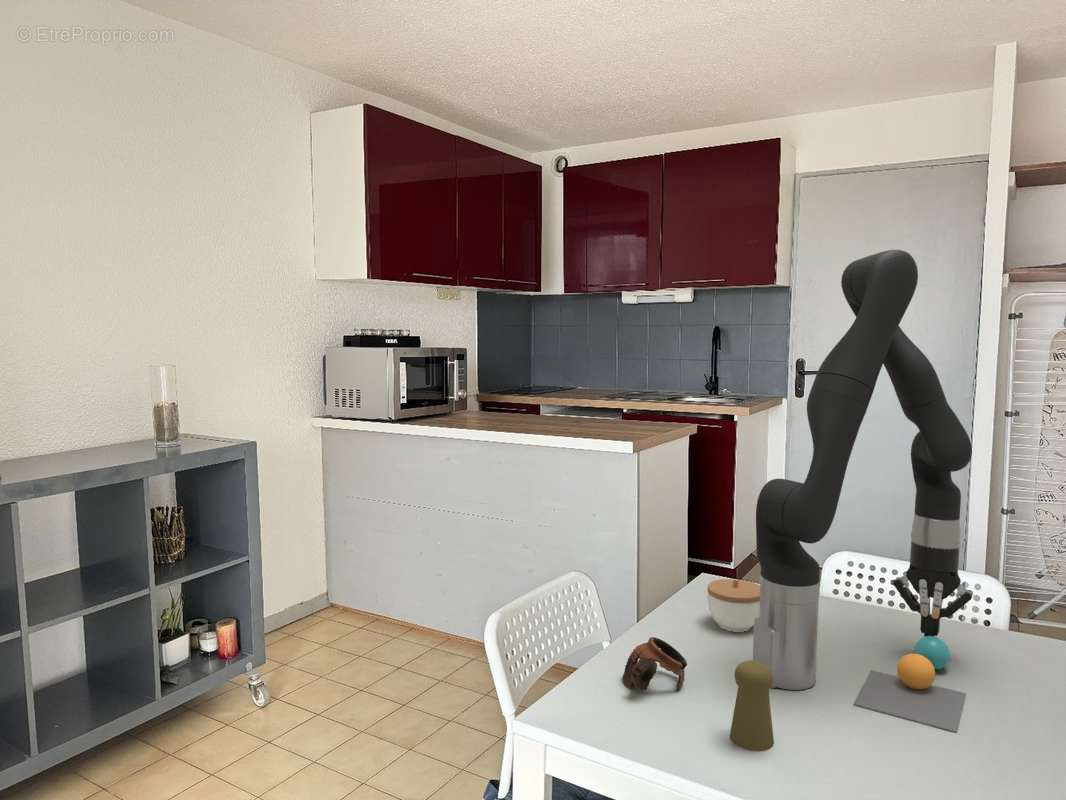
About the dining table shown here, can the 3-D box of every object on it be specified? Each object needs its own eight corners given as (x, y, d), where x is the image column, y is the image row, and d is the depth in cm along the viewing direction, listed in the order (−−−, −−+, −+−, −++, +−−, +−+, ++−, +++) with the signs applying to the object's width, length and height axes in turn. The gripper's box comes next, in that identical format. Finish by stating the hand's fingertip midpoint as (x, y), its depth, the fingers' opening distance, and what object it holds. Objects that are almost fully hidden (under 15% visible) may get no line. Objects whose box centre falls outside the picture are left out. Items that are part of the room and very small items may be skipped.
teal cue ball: (934, 634, 131) (925, 664, 131) (912, 628, 129) (902, 658, 129) (961, 646, 126) (952, 677, 126) (939, 640, 124) (929, 672, 124)
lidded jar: (770, 637, 140) (771, 589, 139) (713, 637, 140) (714, 589, 140) (754, 615, 151) (755, 571, 150) (701, 615, 151) (702, 570, 150)
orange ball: (917, 688, 123) (912, 701, 118) (892, 660, 125) (886, 671, 120) (944, 671, 120) (941, 683, 116) (918, 642, 122) (914, 653, 118)
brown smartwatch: (628, 668, 128) (653, 629, 128) (673, 705, 124) (699, 665, 123) (604, 679, 118) (631, 636, 117) (652, 720, 113) (681, 676, 113)
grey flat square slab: (956, 733, 107) (956, 731, 107) (853, 704, 115) (853, 703, 115) (965, 694, 118) (965, 693, 118) (871, 671, 126) (871, 670, 126)
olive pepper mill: (765, 756, 101) (767, 679, 100) (722, 741, 105) (725, 666, 104) (780, 737, 106) (782, 663, 105) (739, 723, 109) (741, 651, 108)
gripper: (980, 543, 130) (974, 639, 131) (898, 530, 138) (892, 621, 139) (976, 552, 124) (969, 653, 125) (890, 539, 131) (884, 633, 133)
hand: (929, 636), depth 132 cm, fingers closed
